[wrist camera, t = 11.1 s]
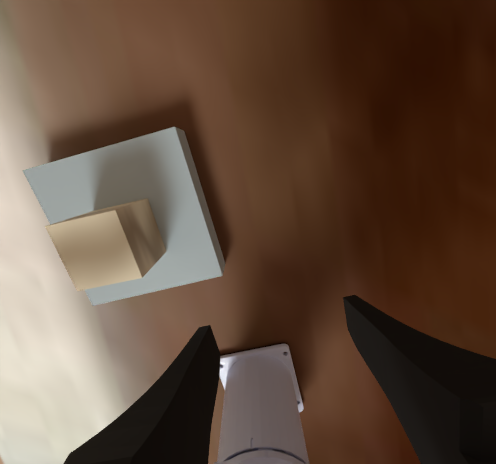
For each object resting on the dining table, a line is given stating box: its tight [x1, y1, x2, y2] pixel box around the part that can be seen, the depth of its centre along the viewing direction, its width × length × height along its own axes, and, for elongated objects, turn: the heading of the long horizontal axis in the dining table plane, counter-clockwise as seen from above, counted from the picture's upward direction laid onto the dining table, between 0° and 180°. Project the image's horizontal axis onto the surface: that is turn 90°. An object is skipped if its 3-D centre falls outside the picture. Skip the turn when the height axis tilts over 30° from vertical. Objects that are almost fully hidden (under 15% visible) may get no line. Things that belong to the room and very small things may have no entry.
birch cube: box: [45, 198, 167, 291], centre depth 17 cm, size 4×4×4 cm
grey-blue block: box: [23, 127, 225, 306], centre depth 20 cm, size 12×12×3 cm
